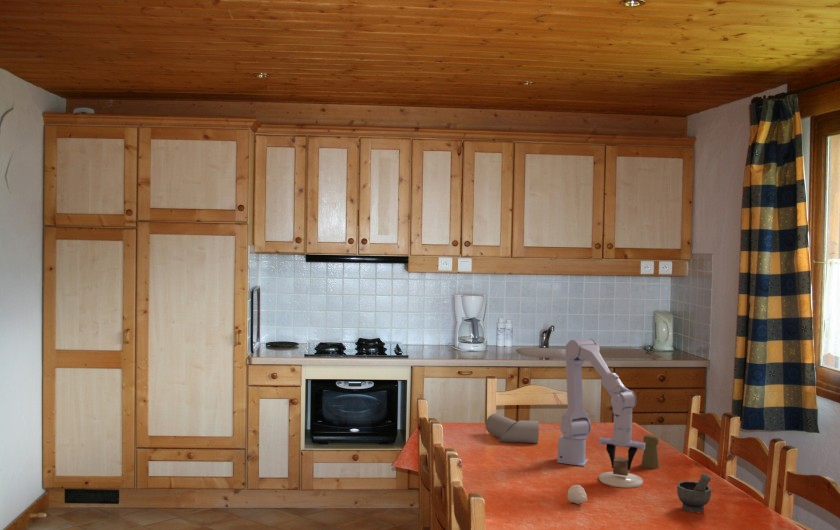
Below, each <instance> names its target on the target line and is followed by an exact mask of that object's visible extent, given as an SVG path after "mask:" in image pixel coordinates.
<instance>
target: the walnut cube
mask: <svg viewBox="0 0 840 530" xmlns="http://www.w3.org/2000/svg"><path fill="white" fill-rule="evenodd" d="M612 470H613V471H612V472H613V474H617V475H624V476H627V475H628V473H630V470H628V458H626V457H619V456H615V459H614V464H613V468H612Z"/></svg>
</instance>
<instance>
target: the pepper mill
mask: <svg viewBox="0 0 840 530" xmlns="http://www.w3.org/2000/svg"><path fill="white" fill-rule="evenodd" d="M642 441H643V443H645V450H643V454H642V459H641V467H642V468H645V469H653V470H654V468H655V469H659V467H660V464H659V463H660V461H659V451H658V444H659V441H660V440H659V437H658V436H657V435H655V434H645V435H644V437H643V440H642Z"/></svg>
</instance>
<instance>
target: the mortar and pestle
mask: <svg viewBox="0 0 840 530" xmlns="http://www.w3.org/2000/svg"><path fill="white" fill-rule="evenodd" d="M711 480H712V479H711V476H710V475H709V474H708V473H702V474H701V475H700V479H699V480H698V482H697V481H689V480H688V481H687V480H685V481H684V480H682V481H679V482H676V491H677V497H678V498H679V501H681V503H682V508H683V509H684V510H683V509H682V510H683V511H685V510H686V512H688V511H690V512H689V513H692V512H701V513H704V512H705V510H704V509H705V508H704V506H705V505H708V503H709V502H710V499H711V495H712V488H711V486H710V485H708V484H709V482H711ZM703 511H704V512H703Z"/></svg>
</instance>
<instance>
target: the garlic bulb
mask: <svg viewBox="0 0 840 530" xmlns="http://www.w3.org/2000/svg"><path fill="white" fill-rule="evenodd" d="M567 499H568V501H570V502H571V503H574V504H577V505H578V504H581V503H584V502H587V501H588V497H587V493H586V491H585V488H584V487H583V486H581V485H580V484H574V485H573V484H572V485H571V486H570V487H569V488H568V491H567Z"/></svg>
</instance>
